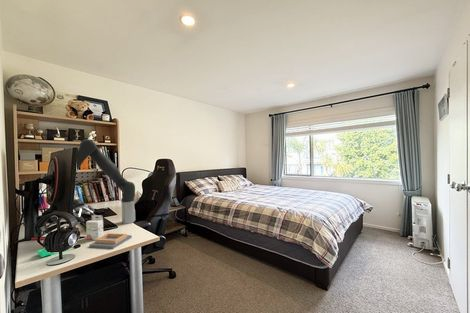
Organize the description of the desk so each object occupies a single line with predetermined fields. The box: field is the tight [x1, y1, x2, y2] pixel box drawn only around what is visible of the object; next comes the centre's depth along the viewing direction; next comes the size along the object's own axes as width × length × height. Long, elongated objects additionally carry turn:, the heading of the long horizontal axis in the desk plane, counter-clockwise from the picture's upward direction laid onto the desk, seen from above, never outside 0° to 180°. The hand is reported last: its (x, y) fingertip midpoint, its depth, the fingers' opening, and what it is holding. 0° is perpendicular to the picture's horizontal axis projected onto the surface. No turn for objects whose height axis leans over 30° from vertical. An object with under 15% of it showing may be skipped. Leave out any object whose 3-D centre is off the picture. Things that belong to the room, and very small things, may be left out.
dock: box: [89, 232, 133, 249], centre depth 127 cm, size 16×16×4 cm
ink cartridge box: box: [85, 214, 104, 241], centre depth 134 cm, size 9×5×15 cm, turn 84°
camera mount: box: [37, 247, 59, 258], centre depth 115 cm, size 12×8×10 cm, turn 148°
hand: (89, 219), depth 135 cm, fingers open, 8 cm apart
